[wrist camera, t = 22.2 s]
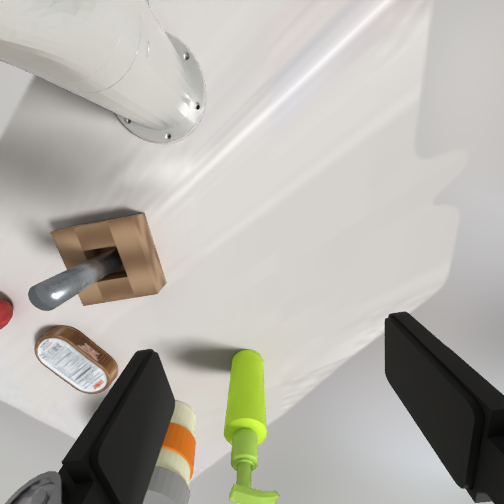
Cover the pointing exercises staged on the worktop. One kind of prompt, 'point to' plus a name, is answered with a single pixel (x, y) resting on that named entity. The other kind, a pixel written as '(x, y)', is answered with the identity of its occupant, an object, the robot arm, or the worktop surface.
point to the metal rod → (73, 280)
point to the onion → (5, 313)
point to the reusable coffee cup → (174, 460)
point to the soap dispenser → (246, 425)
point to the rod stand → (130, 250)
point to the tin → (76, 359)
